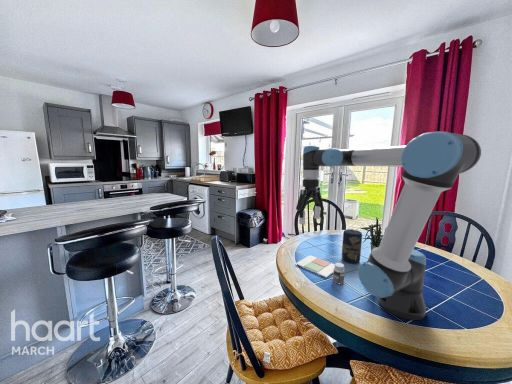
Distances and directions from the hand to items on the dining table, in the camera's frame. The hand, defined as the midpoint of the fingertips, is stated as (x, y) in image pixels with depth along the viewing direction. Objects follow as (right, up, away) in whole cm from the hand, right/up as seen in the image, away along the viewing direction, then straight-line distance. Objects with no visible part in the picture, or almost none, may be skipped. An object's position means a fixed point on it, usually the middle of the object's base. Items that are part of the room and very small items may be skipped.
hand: (309, 221), depth 103 cm
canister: (+27, -24, +14) cm, 38 cm away
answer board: (+6, -25, +7) cm, 27 cm away
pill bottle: (+12, -27, -7) cm, 30 cm away
